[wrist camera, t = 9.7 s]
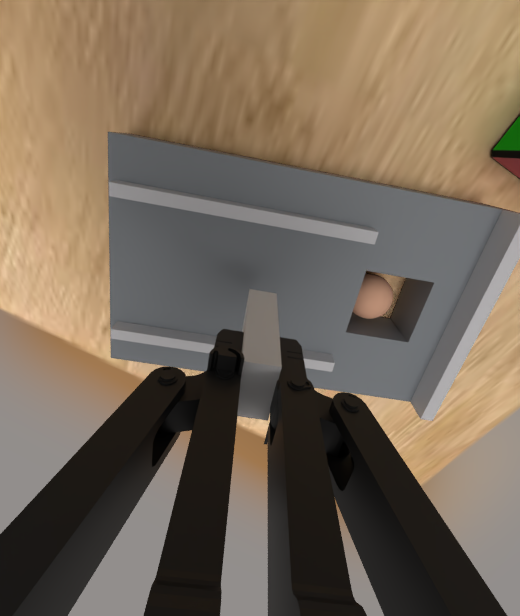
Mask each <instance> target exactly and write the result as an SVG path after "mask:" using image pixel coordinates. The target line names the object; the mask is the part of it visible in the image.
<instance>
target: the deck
mask: <svg viewBox="0 0 520 616" xmlns="http://www.w3.org/2000/svg"><path fill="white" fill-rule="evenodd" d="M108 178H109V253H110V329H111V358H116V359H123V360H130V361H137V362H143V363H150V364H157V365H164V366H171V367H178V368H184V369H191V370H198V371H206V370H207V367H208V360H209V353H210V351H211V350H212V349H214V346H215V342H216V337H217V334H218V333H219V332H220V331H221V330H222V329H229V330H235V331H241V332H242V328H243V323H244V317H245V312H246V306H247V301H248V295H249V290H250V289H253V290H259V291H264V292H270V293H276V294H277V306H278V320H279V335H280V337H282V338H289V339H295V340H297V341H298V342H299V344H300V345H301V346H302V352H303V357H304V363H305V369H306V375H307V379H308V380H309V381H311V382H312V384H313V387H314V388H321V389H328V390H334V391H341V392H348V393H355V394H362V395H369V396H375V397H382V398H389V399H396V400H403V401H409V402H411V404H412V405H413V407H414V409H415V410H416V412H417V414H418V415H419V417H420V419H424V420H431V421H433V419H434V417H435V415H436V413H437V411H438V410H439V408H440V406H441V404H442V402H443V400H444V398H445V397H446V395H447V393H448V391H449V389H450V387H451V385H452V383H453V382H454V380H455V378H456V376H457V374H458V372H459V370H460V368H461V367H462V365H463V363H464V361H465V359H466V357H467V355H468V354H469V352H470V350H471V348H472V346H473V344H474V342H475V340H476V339H477V337H478V335H479V333H480V331H481V329H482V327H483V325H484V324H485V322H486V320H487V318H488V316H489V314H490V312H491V310H492V309H493V307H494V305H495V303H496V301H497V299H498V297H499V296H500V294H501V292H502V290H503V288H504V286H505V284H506V282H507V281H508V279H509V277H510V275H511V273H512V271H513V269H514V267H515V266H516V264H517V262H518V260H519V258H520V213H518V212H514V211H510V210H506V209H502V208H498V207H494V206H490V205H487V204H483V203H477V202H472V201H467V200H462V199H457V198H452V197H447V196H442V195H437V194H432V193H427V192H422V191H417V190H412V189H407V188H402V187H397V186H392V185H387V184H382V183H377V182H372V181H366V180H361V179H356V178H351V177H346V176H341V175H336V174H331V173H326V172H321V171H316V170H311V169H306V168H301V167H296V166H291V165H286V164H281V163H276V162H271V161H266V160H260V159H255V158H250V157H245V156H240V155H235V154H230V153H225V152H220V151H215V150H210V149H205V148H200V147H195V146H190V145H185V144H180V143H175V142H170V141H165V140H160V139H155V138H149V137H144V136H139V135H134V134H127V133H116V132H108ZM366 271H371V272H377V273H382V274H388V275H394V276H399V277H405V278H406V280H405V282H404V285H403V287H402V290H401V292H400V295H399V297H398V300H397V303H396V305H395V308H394V310H393V313H392V315H391V318H385V317H377V318H372V319H367V318H362V317H360V316H358V315H356V314H355V313H354V312H353V309H354V306H355V303H356V300H357V297H358V294H359V291H360V288H361V285H362V282H363V279H364V276H365V273H366Z"/></svg>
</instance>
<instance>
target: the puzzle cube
mask: <svg viewBox="0 0 520 616" xmlns="http://www.w3.org/2000/svg"><path fill="white" fill-rule="evenodd" d="M492 158H494V159H495V160H496V161H497V162H499V163H500V164H501V165H503V166H504V167H505V168H507V169H508V170H509V171H511V172H512V173H513V174H514V175H516V176H517V177H518V178H520V116H519V117H518V118H517V120H516V121H515V122H514V123H513V125H512V126H511V127H510V128H509V130H508V131H507V132H506V134H505V135H504V136H503V137H502V139H501V140H500V141H499V142H498V144H497V145H496V146H495V147H494V149H493V150H492Z"/></svg>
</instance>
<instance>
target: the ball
mask: <svg viewBox="0 0 520 616" xmlns="http://www.w3.org/2000/svg"><path fill="white" fill-rule="evenodd" d="M392 301H393V292H392V288H391V286H390V285H389V283H388V282H387V281H386V280H385V279H383V278H382V277H380V276H377V275H372V274H369V275H365V276H364V279H363V282H362V285H361V288H360V291H359V294H358V297H357V300H356V303H355V306H354V309H353V312H354V313H355V314H356V315H358V316H360V317H362V318H367V319H372V318H377V317H380V316H382V315H383V314H385V313H386V312H387V311H388V310H389V308H390V306H391V304H392Z"/></svg>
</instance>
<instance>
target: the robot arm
mask: <svg viewBox="0 0 520 616" xmlns="http://www.w3.org/2000/svg"><path fill="white" fill-rule="evenodd" d="M269 414H270V423H269V427H268V431H267V435H266V438H265V442H264V444H267V442H268V616H367V615H366V613H365V611H364V609H363V607H362V606H361V605H359V604H358V603H357V602H356V601H355V600H354V597H353V594H352V590H351V584H350V580H349V574H348V568H347V563H346V558H345V552H344V547H343V542H342V537H341V531H340V526H339V520H338V515H337V510H336V504H335V500H336V502H337V504H338V507H339V509H340V511H341V514H342V516H343V519H344V521H345V523H346V526H347V528H348V530H349V533H350V535H351V537H352V540H353V542H354V545H355V547H356V549H357V552H358V554H359V556H360V559H361V561H362V564H363V566H364V568H365V571H366V573H367V575H368V578H369V580H370V582H371V585H372V587H373V590H374V592H375V594H376V597H377V599H378V602H379V604H380V606H381V609H382V611H383V613H384V616H507V615H506V613H505V612H504V610H503V609H502V607H501V606H500V604H499V603H498V601H497V600H496V599H495V597H494V595H493V594H492V592H491V591H490V589H489V588H488V586H487V585H486V584H485V582H484V580H483V579H482V577H481V576H480V574H479V573H478V571H477V570H476V568H475V567H474V565H473V564H472V562H471V561H470V559H469V558H468V556H467V555H466V553H465V552H464V550H463V549H462V547H461V546H460V545H459V543H458V541H457V540H456V539H455V537H454V535H453V534H452V532H451V531H450V529H449V528H448V526H447V525H446V523H445V522H444V520H443V519H442V518H441V516H440V514H439V513H438V512H437V510H436V508H435V507H434V506H433V504H432V503H431V501H430V499H429V498H428V497H427V495H426V494H425V492H424V491H423V489H422V488H421V486H420V485H419V483H418V482H417V480H416V479H415V477H414V476H413V474H412V473H411V471H410V470H409V468H408V467H407V465H406V464H405V462H404V461H403V459H402V458H401V456H400V455H399V453H398V452H397V450H396V449H395V447H394V446H393V444H392V443H391V441H390V440H389V438H388V437H387V435H386V434H385V432H384V431H383V429H382V428H381V426H380V425H379V423H378V422H377V420H376V419H375V417H374V416H373V414H372V413H371V411H370V410H369V408H368V407H367V405H366V404H365V403H364V402H363V401H362V399H360V398H358V397H357V396H355V395H353V394H350V393H344V392H342V393H337V394H336V395H335V396H334V398H333V399H332V398H330V397H327V396H324V395H322V394H320V393H318V392H317V391H315V390H314V387H313V384H312V382H311V381H309V380H308V379H307V375H306V369H305V363H304V357H303V352H302V346H301V345H300V344H299V342H298V341H297V340H295V339H289V338H282V337H280V335H279V320H278V306H277V294H276V293H270V292H264V291H259V290H253V289H250V290H249V295H248V301H247V306H246V312H245V317H244V323H243V328H242V332H241V331H235V330H229V329H222V330H221V331H220V332H219V333H218V334H217V337H216V342H215V346H214V349H212V350H211V351H210V353H209V360H208V367H207V370H206V371H205V372H204V373H202V374H199V375H195V376H186V375H185V373H184V372H183V371H182V370H180V369H178V368H175V367H170V366H169V367H161V368H158V369H155V370H154V371H153V372H151V373H150V374H149V375H148V376H147V377H146V379H145V380H144V381H143V382H142V383H141V384H140V385H139V386H138V387H137V388H136V389H135V391H133V393H132V394H131V395H130V396H129V397H128V398H127V399H126V400H125V401H124V402H123V403H122V404H121V405H120V407H119V408H118V409H117V410H116V411H115V412H114V413H113V414H112V415H111V416H110V417H109V418H108V419H107V420H106V421H105V423H104V424H103V425H102V426H101V427H100V428H99V429H98V430H97V431H96V432H95V433H94V434H93V435H92V437H91V438H90V439H89V440H88V441H87V442H86V443H85V444H84V445H83V446H82V447H81V448H80V449H79V450H78V452H77V453H76V454H75V455H74V456H73V457H72V458H71V459H70V460H69V461H68V462H67V463H66V465H64V467H63V468H62V469H61V470H60V471H59V472H58V473H57V474H56V475H55V476H54V477H53V478H52V479H51V481H50V482H49V483H48V484H47V485H46V486H45V487H44V488H43V489H42V490H41V491H40V492H39V493H38V494H37V496H36V497H35V498H34V499H33V500H32V501H31V502H30V503H29V504H28V505H27V506H26V507H25V508H24V510H23V511H22V512H21V513H20V514H19V515H18V516H17V517H16V518H15V519H14V520H13V521H12V522H11V524H10V525H9V526H8V527H7V528H6V529H5V530H4V531H3V532H2V533H1V534H0V616H68V614H69V612H70V611H71V609H72V607H73V606H74V604H75V603H76V601H77V599H78V598H79V596H80V595H81V593H82V591H83V590H84V588H85V587H86V585H87V583H88V581H89V580H90V579H91V577H92V575H93V574H94V572H95V571H96V569H97V567H98V566H99V564H100V562H101V561H102V559H103V558H104V556H105V554H106V553H107V551H108V550H109V548H110V546H111V545H112V543H113V541H114V540H115V538H116V537H117V535H118V533H119V532H120V530H121V529H122V527H123V525H124V524H125V522H126V520H127V519H128V517H129V516H130V514H131V513H132V511H133V509H134V508H135V506H136V505H137V503H138V501H139V500H140V498H141V496H142V495H143V493H144V492H145V490H146V488H147V487H148V485H149V484H150V482H151V480H152V479H153V477H154V476H155V474H156V472H157V471H158V469H159V467H160V466H161V464H162V463H163V461H164V459H165V457H166V456H167V455H168V453H169V451H170V450H171V448H172V447H173V445H174V443H175V442H176V440H177V439H178V437H179V435H180V432H181V431H189V430H192V434H191V438H190V442H189V446H188V450H187V454H186V458H185V462H184V466H183V470H182V474H181V478H180V482H179V486H178V490H177V494H176V498H175V502H174V506H173V510H172V515H171V518H170V523H169V527H168V531H167V535H166V539H165V543H164V547H163V551H162V555H161V559H160V563H159V567H158V571H157V575H156V578H155V580H154V582H153V584H152V587H151V590H150V594H149V597H148V601H147V605H146V608H145V612H144V616H220V606H221V575H222V564H223V554H224V544H225V534H226V524H227V514H228V504H229V493H230V484H231V474H232V464H233V454H234V444H235V434H236V423H237V416H241V417H248V418H255V419H262V420H268V418H269ZM334 497H335V499H334Z"/></svg>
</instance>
